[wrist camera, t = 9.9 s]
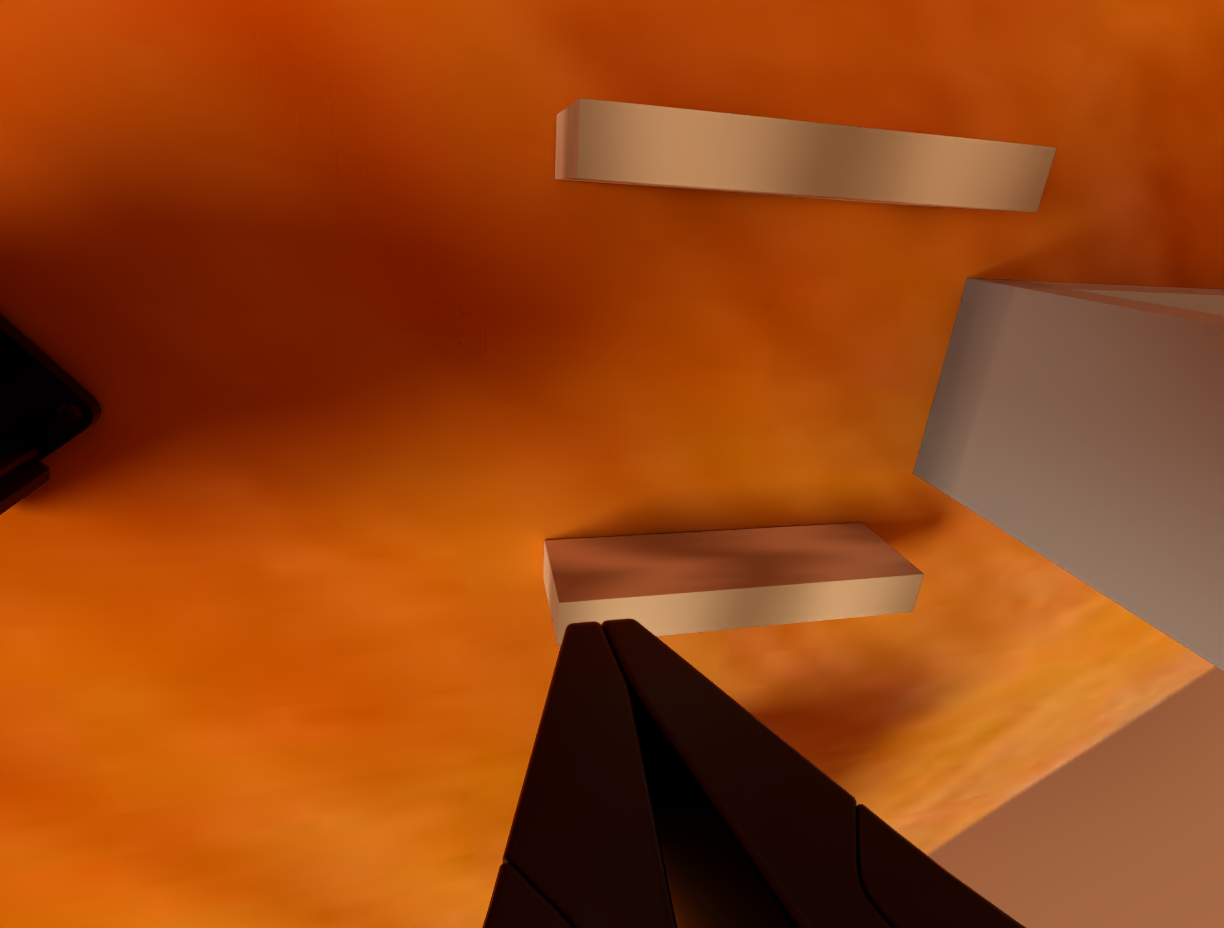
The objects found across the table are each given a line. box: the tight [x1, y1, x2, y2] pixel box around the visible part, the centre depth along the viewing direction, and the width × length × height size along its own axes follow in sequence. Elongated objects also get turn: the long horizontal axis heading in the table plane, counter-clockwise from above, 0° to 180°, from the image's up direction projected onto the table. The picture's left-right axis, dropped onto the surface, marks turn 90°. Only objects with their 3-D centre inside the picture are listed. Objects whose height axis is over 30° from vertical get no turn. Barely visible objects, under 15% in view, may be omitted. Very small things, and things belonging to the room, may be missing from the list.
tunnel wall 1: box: [543, 522, 924, 645], centre depth 21 cm, size 12×2×4 cm, turn 86°
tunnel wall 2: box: [555, 98, 1057, 212], centre depth 16 cm, size 12×2×4 cm, turn 86°
